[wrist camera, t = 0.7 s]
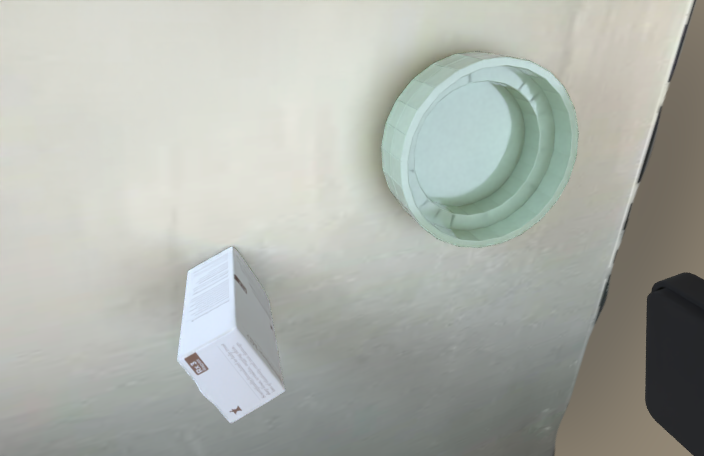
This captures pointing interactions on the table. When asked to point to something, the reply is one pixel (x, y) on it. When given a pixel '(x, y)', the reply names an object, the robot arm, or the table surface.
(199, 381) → the cosmetic box
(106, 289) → the table surface
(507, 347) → the table surface
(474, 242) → the bowl
